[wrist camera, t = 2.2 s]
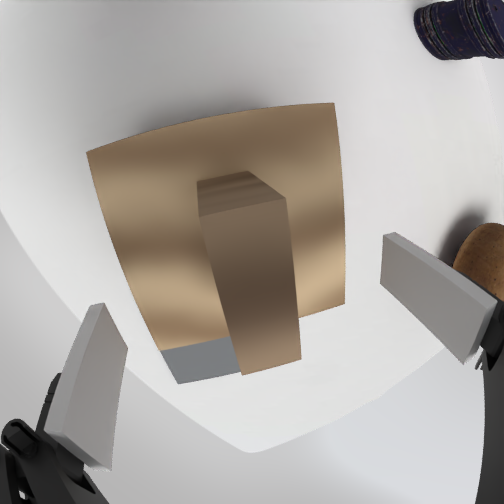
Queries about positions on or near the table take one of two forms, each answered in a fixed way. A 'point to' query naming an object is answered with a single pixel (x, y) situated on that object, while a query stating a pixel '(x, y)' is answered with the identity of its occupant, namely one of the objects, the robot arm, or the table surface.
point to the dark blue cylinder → (462, 29)
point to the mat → (202, 360)
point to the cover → (229, 227)
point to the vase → (484, 257)
